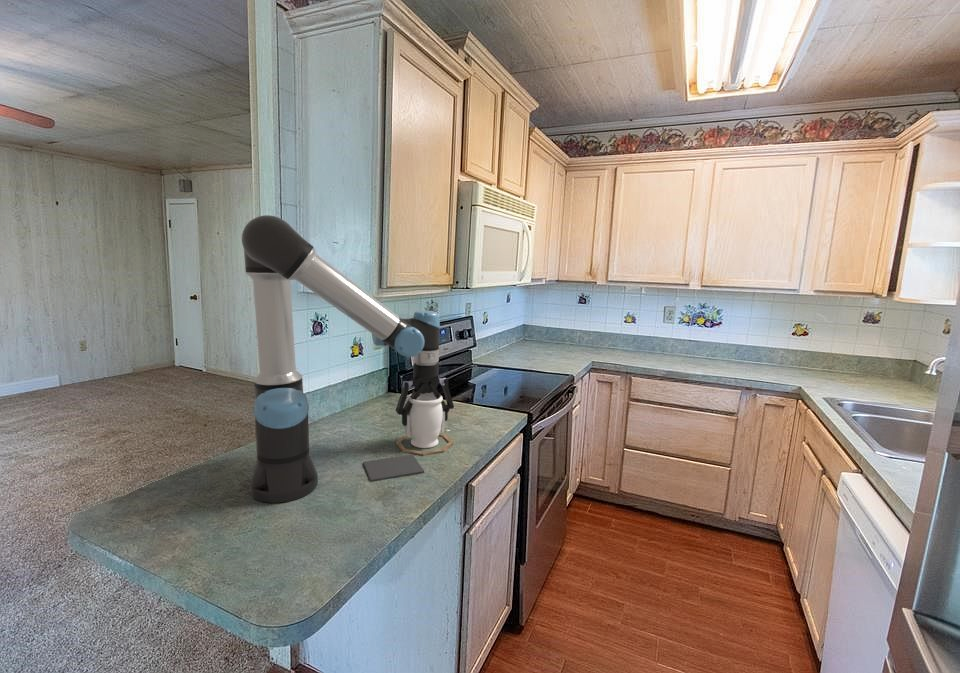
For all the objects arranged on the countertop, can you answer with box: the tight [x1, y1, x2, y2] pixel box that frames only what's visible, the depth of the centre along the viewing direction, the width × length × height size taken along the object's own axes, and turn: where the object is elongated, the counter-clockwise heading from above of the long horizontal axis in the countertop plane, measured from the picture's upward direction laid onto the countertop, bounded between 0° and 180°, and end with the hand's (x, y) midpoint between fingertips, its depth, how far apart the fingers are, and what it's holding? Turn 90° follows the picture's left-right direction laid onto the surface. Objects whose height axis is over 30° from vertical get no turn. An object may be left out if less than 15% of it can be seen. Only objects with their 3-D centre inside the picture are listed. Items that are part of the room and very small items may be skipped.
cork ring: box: [395, 432, 454, 456], centre depth 140 cm, size 16×16×1 cm
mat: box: [362, 453, 425, 482], centre depth 123 cm, size 14×11×1 cm
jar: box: [407, 392, 444, 449], centre depth 139 cm, size 11×10×15 cm
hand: (424, 432), depth 139 cm, fingers closed on jar, 10 cm apart
